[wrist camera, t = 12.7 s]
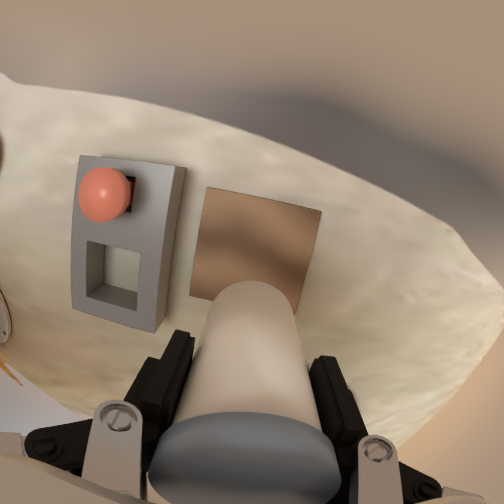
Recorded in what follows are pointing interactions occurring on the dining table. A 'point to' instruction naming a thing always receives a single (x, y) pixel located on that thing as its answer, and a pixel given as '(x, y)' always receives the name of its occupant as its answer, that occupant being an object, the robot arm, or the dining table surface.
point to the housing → (128, 244)
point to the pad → (252, 244)
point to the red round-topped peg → (105, 194)
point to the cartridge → (246, 412)
